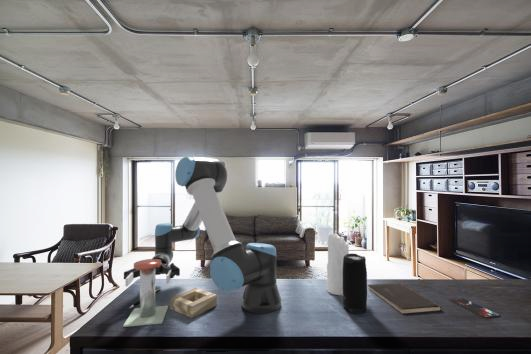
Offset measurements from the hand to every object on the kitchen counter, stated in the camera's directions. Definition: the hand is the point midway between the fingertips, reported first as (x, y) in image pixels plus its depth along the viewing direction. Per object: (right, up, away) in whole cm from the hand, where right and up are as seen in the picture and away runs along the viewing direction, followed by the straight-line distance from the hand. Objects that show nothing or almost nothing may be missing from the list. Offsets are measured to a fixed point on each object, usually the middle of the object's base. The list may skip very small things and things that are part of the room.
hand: (147, 281), depth 95 cm
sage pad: (0, -12, -1) cm, 12 cm away
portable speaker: (+75, -12, +4) cm, 76 cm away
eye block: (+15, -12, +6) cm, 20 cm away
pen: (-7, -13, +15) cm, 21 cm away
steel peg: (0, -11, -1) cm, 12 cm away
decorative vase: (+74, -13, +21) cm, 78 cm away
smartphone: (+119, -12, +5) cm, 120 cm away
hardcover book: (+97, -13, +13) cm, 98 cm away
